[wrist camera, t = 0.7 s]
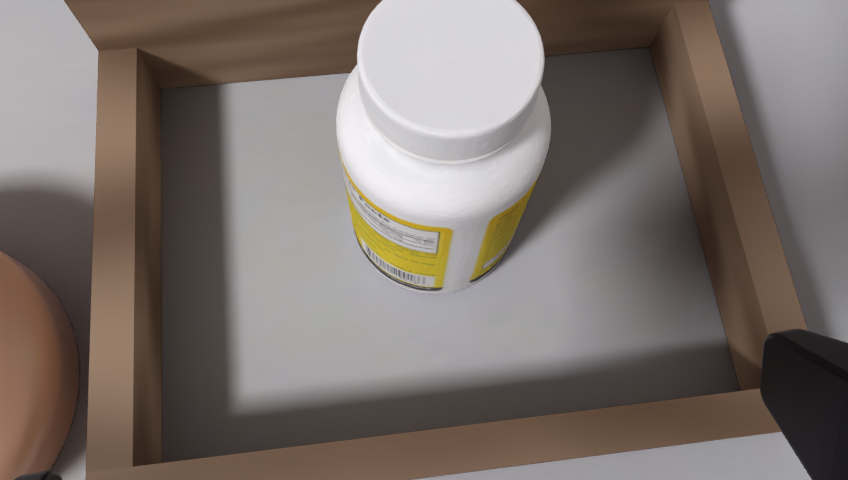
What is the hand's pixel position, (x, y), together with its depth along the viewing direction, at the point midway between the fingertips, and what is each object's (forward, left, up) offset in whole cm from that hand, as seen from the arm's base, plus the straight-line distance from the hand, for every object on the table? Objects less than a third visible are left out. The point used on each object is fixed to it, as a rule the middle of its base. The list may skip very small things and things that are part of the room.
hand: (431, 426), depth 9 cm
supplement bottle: (+3, -7, -14) cm, 16 cm away
